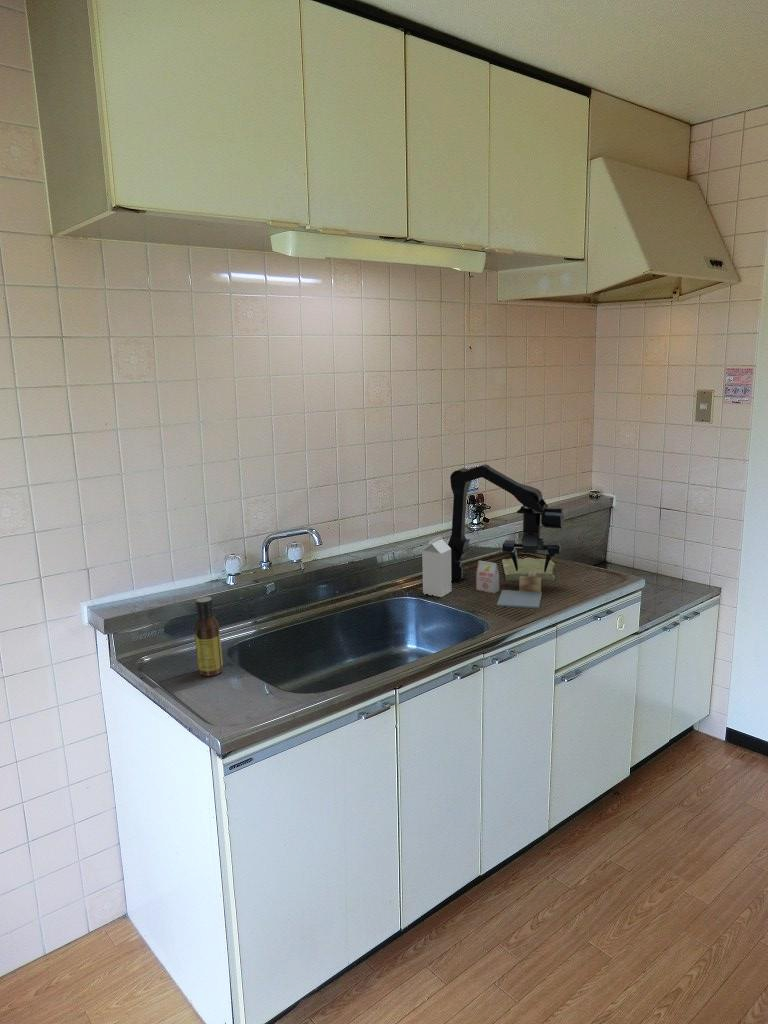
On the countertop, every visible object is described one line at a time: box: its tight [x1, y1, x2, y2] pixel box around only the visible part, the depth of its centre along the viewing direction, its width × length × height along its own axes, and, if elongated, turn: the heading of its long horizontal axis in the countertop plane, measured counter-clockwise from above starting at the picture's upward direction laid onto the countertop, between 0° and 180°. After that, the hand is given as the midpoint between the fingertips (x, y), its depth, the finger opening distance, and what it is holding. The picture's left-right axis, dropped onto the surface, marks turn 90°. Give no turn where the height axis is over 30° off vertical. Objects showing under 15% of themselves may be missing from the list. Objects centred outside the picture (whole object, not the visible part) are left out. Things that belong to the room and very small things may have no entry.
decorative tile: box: [501, 557, 556, 581], centre depth 266 cm, size 19×20×4 cm
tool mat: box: [496, 589, 543, 610], centre depth 236 cm, size 13×15×1 cm
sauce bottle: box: [193, 596, 224, 677], centre depth 185 cm, size 7×6×20 cm
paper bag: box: [475, 560, 500, 594], centre depth 246 cm, size 4×7×10 cm, turn 53°
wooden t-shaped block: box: [518, 571, 542, 592], centre depth 249 cm, size 7×11×5 cm, turn 165°
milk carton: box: [421, 535, 453, 598], centre depth 243 cm, size 7×7×19 cm
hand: (530, 571), depth 247 cm, fingers open, 9 cm apart
